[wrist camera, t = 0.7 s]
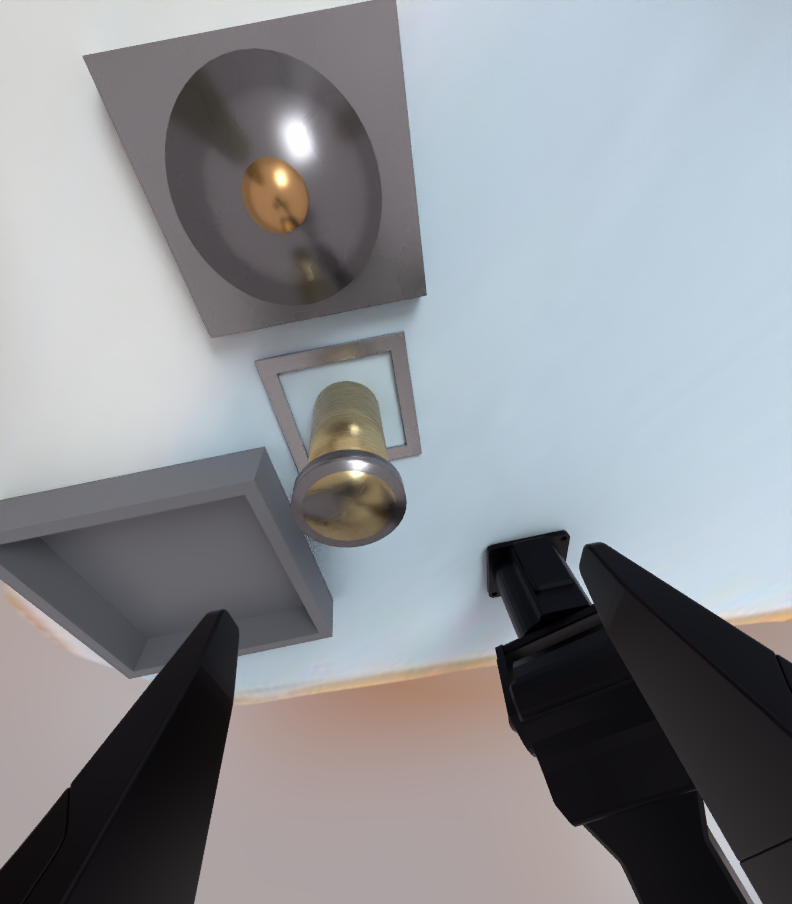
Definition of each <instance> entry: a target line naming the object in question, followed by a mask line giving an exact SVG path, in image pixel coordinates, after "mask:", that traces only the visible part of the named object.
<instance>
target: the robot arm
mask: <svg viewBox="0 0 792 904" xmlns="http://www.w3.org/2000/svg"><path fill="white" fill-rule="evenodd" d="M569 540H570V536H569V534H568V533H567V531H565V530H562V531H557V532H552V533H547V534H543V535H538V536H533V537H528V538H523V539H518V540H513V541H509V542H504V543H499V544H494V545H491V546H489V547H488V548H487V588H488V594H489V596H490V597H492V598H494V597H499V596H501V597H502V599H503V602H504V604H505V607H506V609H507V612H508V614H509V617H510V619H511V622H512V624H513V626H514V629H515V631H516V634H517V636H518V639H516V640H514V641H512V642H510V643H508V644H505V645H500V646H498V647H496V648H495V650H496V654H497V665H498V669H499V674H500V679H501V684H502V688H503V693H504V698H505V703H506V707H507V712H508V717H509V718H508V719H509V724H510V726H511V728H512V730H513V731H515V732H517V733H518V735H519V736H520V738H521V740H522V742H523V744H524V745H525V747H526V748H527V750H528V751H529V752H530V753H531V755H533V756H534V757H537V759H538V761H539V764H540V766H541V769H542V771H543V774H544V777H545V780H546V782H547V785H548V788H549V790H550V793H551V796H552V799H553V801H554V803H555V805H556V806H557V808H558V809H559V810H560V811H561V812H562V814H563V815H564V816H565V817H566V818H567V820H568V821H569V822H570V823H571V824H572V825H573V826H575V827H576V826H580V825H583V826H584V827H585V828H586V829H587V830H588V831H589V832H590V833H591V834H592V835H593V836H594V837H595V838H596V839H597V840H598V841H599V842H600V843H601V844H602V845H603V846H604V847H605V848H606V849H607V850H608V851H609V852H610V853H611V854H612V855H613V856H614V857H615V858H616V859H617V860H618V862H619V863H620V864H621V866H622V868H623V870H624V872H625V874H626V876H627V878H628V880H629V882H630V884H631V886H632V889H633V891H634V893H635V895H636V897H637V900H638V902H639V904H754V903H753V901H752V899H751V898H750V896H749V894H748V893H747V891H746V889H745V888H744V886H743V884H742V883H741V881H740V880H739V878H738V876H737V875H736V873H735V871H734V869H733V868H732V866H731V864H730V863H729V861H728V859H727V858H726V856H725V854H724V853H723V851H722V849H721V848H720V846H719V844H718V843H717V841H716V839H715V838H714V836H713V834H712V833H711V831H710V829H709V828H708V826H707V821H706V815H705V809H704V802H705V804H706V806H707V807H708V809H709V811H710V812H711V814H712V816H713V818H714V819H715V821H716V822H717V824H718V826H719V828H720V829H721V832H722V833H723V835H724V837H725V838H726V840H727V842H728V844H729V845H730V847H731V849H732V851H733V852H734V854H735V856H736V858H737V859H738V860H739V861H740V865H741V867H742V869H743V870H744V872H745V874H746V875H747V877H748V879H749V881H750V882H751V884H752V886H753V888H754V889H755V891H756V893H757V895H758V896H759V898H760V900H761V902H762V903H763V904H792V663H791V662H789V661H788V660H786V659H785V658H783V657H781V656H780V655H775V653H774V652H773V651H772V650H770V649H769V648H767V647H766V646H764V645H763V644H761V643H759V642H758V641H756V640H755V639H753V638H752V637H750V636H748V635H747V634H745V633H744V632H742V631H741V630H739V629H737V628H736V627H734V626H733V625H731V624H730V623H728V622H727V621H725V620H723V619H722V618H720V617H719V616H717V615H716V614H714V613H713V612H711V611H709V610H708V609H706V608H705V607H703V606H702V605H700V604H698V603H697V602H695V601H694V600H692V599H691V598H689V597H688V596H686V595H684V594H683V593H681V592H680V591H678V590H677V589H675V588H673V587H672V586H670V585H669V584H667V583H666V582H664V581H663V580H661V579H659V578H658V577H656V576H655V575H653V574H652V573H650V572H648V571H647V570H645V569H644V568H642V567H641V566H639V565H637V564H636V563H634V562H633V561H631V560H630V559H628V558H627V557H625V556H623V555H622V554H620V553H619V552H617V551H616V550H614V549H612V548H611V547H609V546H608V545H606V544H604V543H602V542H596V543H591V544H586V545H585V546H584V548H583V551H582V555H581V559H580V564H579V569H580V573H581V576H582V578H583V580H584V583H585V585H586V587H587V589H588V591H589V594H590V596H591V598H592V600H593V603H594V604H592V603H591V602H590V600H589V599H588V597H587V595H586V594H585V592H584V591H583V589H582V587H581V586H580V584H579V583H578V581H577V579H576V578H575V576H574V575H573V573H572V571H571V570H570V568H569V566H568V565H567V563H566V557H567V551H568V546H569ZM239 636H240V633H239V628H238V625H237V624H236V622H235V621H234V619H233V618H232V616H231V615H230V613H229V612H228V611H227V610H226V609H220V610H215V611H210V612H208V613H207V614H206V615H205V616H204V617H203V618H202V620H201V621H200V622H199V623H198V625H197V626H196V627H195V628H194V630H193V631H192V632H191V633H190V635H189V636H188V637H187V638H186V640H185V641H184V642H183V643H182V645H181V646H180V647H179V648H178V650H177V651H176V652H175V653H174V655H173V656H172V657H171V658H170V660H169V661H168V662H167V664H166V665H165V666H164V667H163V669H162V670H161V671H160V672H159V674H158V675H157V676H156V677H155V679H154V680H153V681H152V682H151V684H150V685H149V686H148V688H147V689H146V690H145V691H144V692H143V694H142V695H141V696H140V697H139V699H138V700H137V701H136V702H135V704H134V705H133V706H132V708H131V709H130V710H129V711H128V713H127V714H126V715H125V716H124V718H123V719H122V720H121V721H120V723H119V724H118V725H117V727H116V728H115V729H114V730H113V732H112V733H111V734H110V735H109V736H108V738H107V739H106V740H105V741H104V743H103V744H102V745H101V746H100V748H99V749H98V750H97V751H96V753H95V754H94V755H93V757H92V758H91V759H90V760H89V762H88V763H87V764H86V765H85V767H84V768H83V769H82V770H81V772H80V773H79V774H78V775H77V777H76V778H75V779H74V780H73V782H72V783H71V787H70V788H67V789H66V790H65V791H64V793H63V794H62V795H61V797H60V798H59V799H58V800H57V801H56V803H55V804H54V805H53V806H52V808H51V809H50V810H49V812H48V813H47V814H46V815H45V816H44V818H43V819H42V820H41V822H40V823H39V824H38V825H37V826H36V827H35V829H34V830H33V831H32V832H31V834H30V835H29V836H28V837H27V838H26V840H25V841H24V842H23V843H22V845H21V846H20V847H19V848H18V849H17V851H16V852H15V853H14V854H13V855H12V856H11V858H10V859H9V860H8V861H7V862H6V863H5V865H4V866H3V867H2V868H1V869H0V904H194V901H195V896H196V891H197V885H198V881H199V876H200V870H201V865H202V860H203V855H204V850H205V845H206V840H207V835H208V829H209V824H210V819H211V814H212V808H213V804H214V799H215V794H216V789H217V784H218V778H219V773H220V768H221V763H222V758H223V753H224V747H225V742H226V737H227V732H228V727H229V722H230V717H231V711H232V706H233V699H234V691H235V680H236V669H237V658H238V648H239ZM703 800H704V802H703Z"/></svg>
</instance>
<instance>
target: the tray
mask: <svg viewBox="0 0 792 904" xmlns="http://www.w3.org/2000/svg"><path fill="white" fill-rule="evenodd" d="M0 579H1V580H2V581H4V582H5V583H6V584H7V585H9V586H10V587H11V588H13V589H14V590H15V591H16V592H18V593H19V594H20V595H22V596H23V597H24V598H25V599H27V600H28V601H29V602H31V603H32V604H33V605H34V606H36V607H37V608H38V609H40V610H41V611H42V612H44V613H45V614H46V615H47V616H49V617H50V618H51V619H53V620H54V621H55V622H56V623H58V624H59V625H60V626H62V627H63V628H64V629H65V630H67V631H68V632H69V633H71V634H72V635H73V636H74V637H76V638H77V639H78V640H80V641H81V642H82V643H83V644H85V645H86V646H87V647H89V648H90V649H91V650H93V651H94V652H95V653H96V654H98V655H99V656H100V657H102V658H103V659H104V660H105V661H107V662H108V663H109V664H111V665H112V666H113V667H114V668H116V669H117V670H118V671H120V672H121V673H122V674H124V675H125V676H126V677H127V678H129V679H131V678H136V677H140V676H145V675H150V674H155V673H159V672H160V671H161V670H162V669H163V667H164V666H165V665H166V664H167V662H168V661H169V660H170V658H171V657H172V656H173V655H174V653H175V652H176V651H177V650H178V648H179V647H180V646H181V645H182V643H183V642H184V641H185V640H186V638H187V637H188V636H189V635H190V633H191V632H192V631H193V630H194V628H195V627H196V626H197V625H198V623H199V622H200V621H201V620H202V618H203V617H204V616H205V615H206V614H207V613H208V612H210V611H215V610H220V609H226V610H227V611H228V612H229V613H230V615H231V616H232V618H233V619H234V621H235V622H236V624H237V625H238V628H239V633H240V636H239V648H238V656H241V655H246V654H251V653H256V652H261V651H265V650H270V649H275V648H280V647H285V646H289V645H294V644H299V643H304V642H309V641H313V640H318V639H323V638H328V637H332V633H333V599H332V596H331V594H330V592H329V590H328V587H327V585H326V583H325V581H324V578H323V576H322V574H321V572H320V570H319V567H318V565H317V563H316V561H315V558H314V556H313V554H312V552H311V550H310V547H309V545H308V543H307V541H306V538H305V536H304V534H303V532H302V531H301V530H300V528H299V527H298V526H297V524H296V523H295V521H294V519H293V516H292V511H291V505H290V503H289V501H288V498H287V496H286V494H285V492H284V489H283V487H282V485H281V483H280V480H279V478H278V476H277V474H276V472H275V469H274V467H273V465H272V463H271V460H270V458H269V456H268V454H267V452H266V449H265V447H261V448H256V449H251V450H246V451H241V452H237V453H232V454H227V455H222V456H217V457H212V458H207V459H202V460H197V461H192V462H187V463H182V464H177V465H172V466H167V467H163V468H158V469H153V470H148V471H143V472H138V473H133V474H128V475H123V476H118V477H113V478H108V479H103V480H98V481H93V482H88V483H84V484H79V485H74V486H69V487H64V488H59V489H54V490H49V491H44V492H39V493H34V494H29V495H24V496H19V497H14V498H10V499H5V500H0Z"/></svg>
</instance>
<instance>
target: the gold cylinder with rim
mask: <svg viewBox="0 0 792 904" xmlns="http://www.w3.org/2000/svg"><path fill="white" fill-rule="evenodd" d="M405 510H406V495H405V490H404V486H403V482H402V478H401V476H400V474H399V472H398V471H397V470H396V468H395V467H394V466H393V465H392V464H391V463H390V462H389V459H388V454H387V448H386V443H385V437H384V432H383V427H382V421H381V416H380V410H379V405H378V401H377V399H376V397H375V395H374V394H373V393H372V392H371V391H370V390H369V389H368V388H367V387H365V386H363V385H361V384H359V383H356V382H350V381H342V382H337V383H334V384H332V385H330V386H328V387H327V388H325V389H324V390H323V391H322V392H321V393H320V395H319V396H318V398H317V400H316V403H315V409H314V417H313V424H312V432H311V440H310V448H309V455H308V463H307V465H306V466H305V467H304V468H303V469H302V471H301V472H300V473H299V475H298V477H297V479H296V481H295V484H294V489H293V495H292V501H291V511H292V516H293V519H294V521H295V523H296V524H297V526H298V527H299V528H300V530H301V531H302V532H304V533H305V534H306V535H307V536H309V537H310V538H312V539H314V540H315V541H318V542H320V543H323V544H326V545H330V546H335V547H358V546H363V545H367V544H370V543H373V542H376V541H378V540H380V539H382V538H384V537H385V536H387V535H388V534H390V533H391V532H392V531H393V530H394V529H395V528H396V527H397V526H398V525H399V523H400V522H401V520H402V519H403V516H404V514H405Z"/></svg>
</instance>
